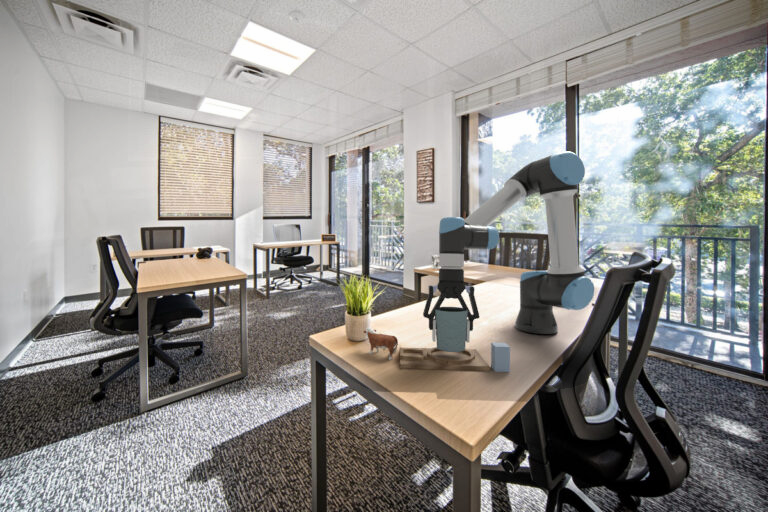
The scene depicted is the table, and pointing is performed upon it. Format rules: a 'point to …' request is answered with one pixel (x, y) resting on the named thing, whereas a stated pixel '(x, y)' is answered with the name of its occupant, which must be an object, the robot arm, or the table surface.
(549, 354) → the table surface
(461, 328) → the teal cup
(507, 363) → the block
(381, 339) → the bull figurine
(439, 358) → the jig
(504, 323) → the table surface
